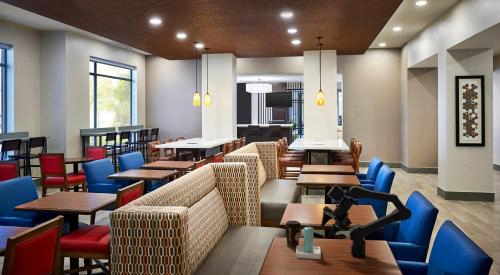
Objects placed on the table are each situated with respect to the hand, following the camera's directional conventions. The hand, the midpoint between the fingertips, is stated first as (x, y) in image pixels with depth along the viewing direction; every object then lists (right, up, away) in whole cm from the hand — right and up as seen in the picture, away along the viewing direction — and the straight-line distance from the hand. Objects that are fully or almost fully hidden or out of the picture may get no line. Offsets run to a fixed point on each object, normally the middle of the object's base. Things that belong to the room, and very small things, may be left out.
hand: (325, 231), depth 204 cm
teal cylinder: (-9, -10, 0) cm, 13 cm away
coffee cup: (-15, -11, +13) cm, 22 cm away
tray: (-9, -11, 0) cm, 14 cm away
